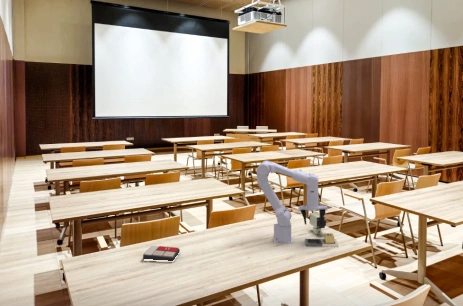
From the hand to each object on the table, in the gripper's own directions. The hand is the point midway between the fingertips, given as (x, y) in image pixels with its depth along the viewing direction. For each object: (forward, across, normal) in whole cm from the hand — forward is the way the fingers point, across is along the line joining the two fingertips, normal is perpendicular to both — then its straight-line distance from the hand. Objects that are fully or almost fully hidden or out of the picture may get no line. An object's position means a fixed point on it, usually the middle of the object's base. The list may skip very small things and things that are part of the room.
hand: (312, 223), depth 192 cm
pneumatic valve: (+11, +4, +13) cm, 17 cm away
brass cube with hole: (+10, +8, -2) cm, 13 cm away
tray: (+10, +4, -2) cm, 11 cm away
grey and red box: (+10, -76, -19) cm, 79 cm away
